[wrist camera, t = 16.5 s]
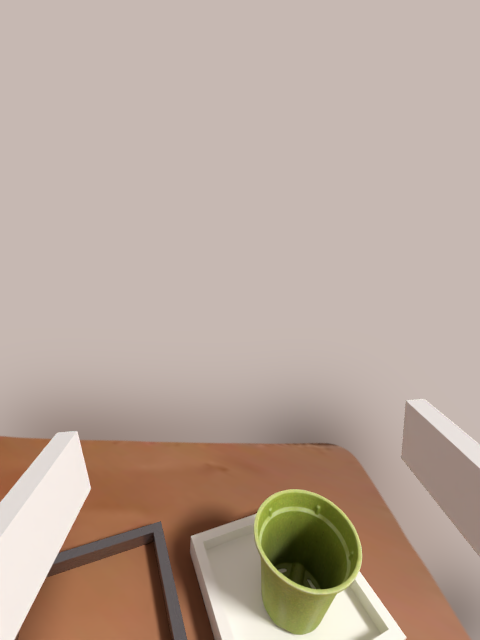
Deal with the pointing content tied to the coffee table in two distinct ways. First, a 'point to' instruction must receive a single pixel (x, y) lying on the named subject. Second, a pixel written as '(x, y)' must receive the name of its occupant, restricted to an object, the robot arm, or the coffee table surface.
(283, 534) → the plant pot
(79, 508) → the robot arm
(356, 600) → the tray
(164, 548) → the grey square frame
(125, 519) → the coffee table surface
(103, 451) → the coffee table surface
